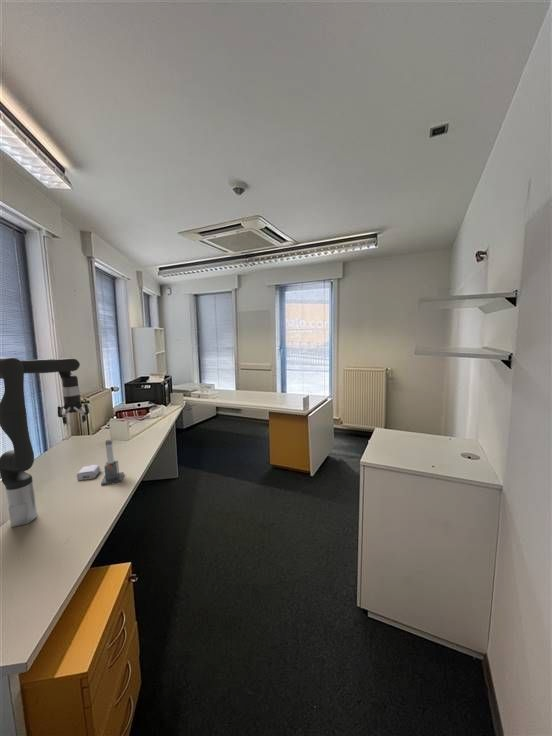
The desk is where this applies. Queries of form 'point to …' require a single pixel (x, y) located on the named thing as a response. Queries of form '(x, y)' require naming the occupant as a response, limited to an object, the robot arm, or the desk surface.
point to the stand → (112, 474)
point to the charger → (88, 472)
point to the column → (110, 452)
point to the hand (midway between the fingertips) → (75, 422)
